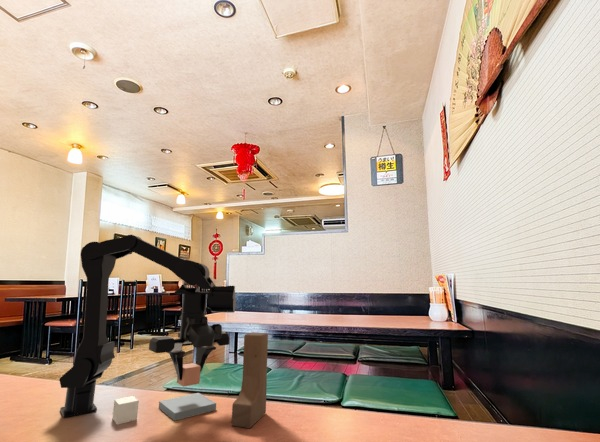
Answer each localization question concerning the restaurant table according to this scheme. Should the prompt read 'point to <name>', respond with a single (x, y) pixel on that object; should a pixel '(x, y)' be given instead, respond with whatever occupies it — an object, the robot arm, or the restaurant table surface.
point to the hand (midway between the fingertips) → (188, 378)
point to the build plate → (187, 406)
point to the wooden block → (252, 382)
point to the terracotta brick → (190, 375)
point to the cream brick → (125, 409)
